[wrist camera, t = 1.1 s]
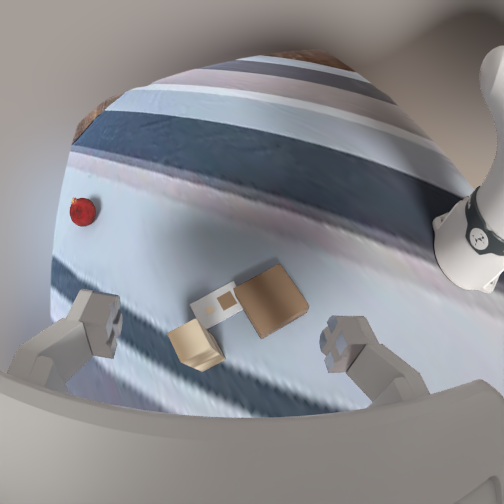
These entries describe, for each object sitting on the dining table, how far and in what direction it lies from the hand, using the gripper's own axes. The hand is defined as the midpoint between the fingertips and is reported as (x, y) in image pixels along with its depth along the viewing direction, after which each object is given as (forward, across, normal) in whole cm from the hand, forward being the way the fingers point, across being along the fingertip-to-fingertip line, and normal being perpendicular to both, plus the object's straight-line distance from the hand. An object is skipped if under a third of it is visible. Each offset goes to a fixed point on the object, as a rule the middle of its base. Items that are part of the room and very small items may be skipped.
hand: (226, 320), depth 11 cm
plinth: (+24, -11, +21) cm, 34 cm away
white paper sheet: (+26, -3, +23) cm, 35 cm away
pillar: (+19, -2, +27) cm, 33 cm away
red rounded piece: (+46, +26, +23) cm, 58 cm away
